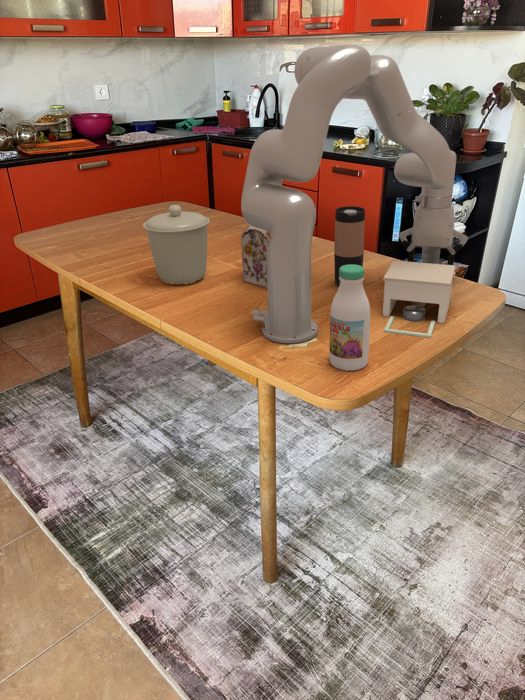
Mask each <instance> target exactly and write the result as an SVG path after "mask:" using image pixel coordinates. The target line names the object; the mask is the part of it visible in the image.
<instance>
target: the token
mask: <svg viewBox="0 0 525 700" xmlns="http://www.w3.org/2000/svg"><path fill="white" fill-rule="evenodd" d="M402 318H403V319H404V320H406V321H409V322H415V323H416V322H422V321H424V320H425V319H426V308H425V307H423V306H415V305H412V304H411V305H407V306H404V307H403V310H402Z"/></svg>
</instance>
